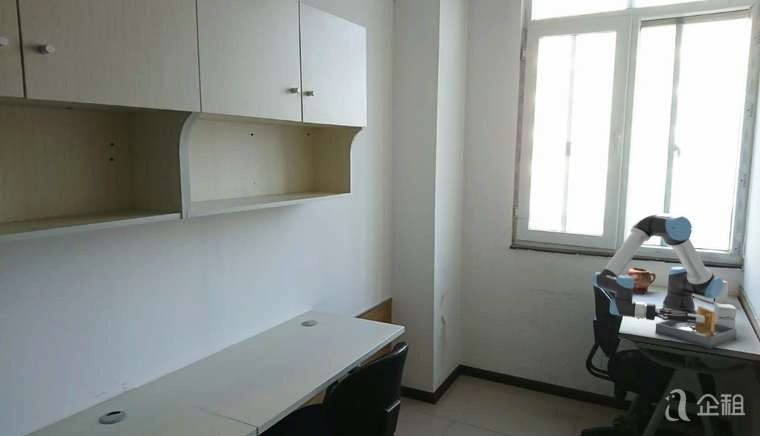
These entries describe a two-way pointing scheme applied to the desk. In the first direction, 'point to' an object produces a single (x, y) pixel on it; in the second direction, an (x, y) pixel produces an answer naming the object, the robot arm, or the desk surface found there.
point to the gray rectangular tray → (722, 334)
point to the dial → (701, 324)
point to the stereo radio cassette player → (721, 298)
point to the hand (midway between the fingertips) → (704, 319)
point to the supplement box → (725, 314)
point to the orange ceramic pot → (641, 279)
